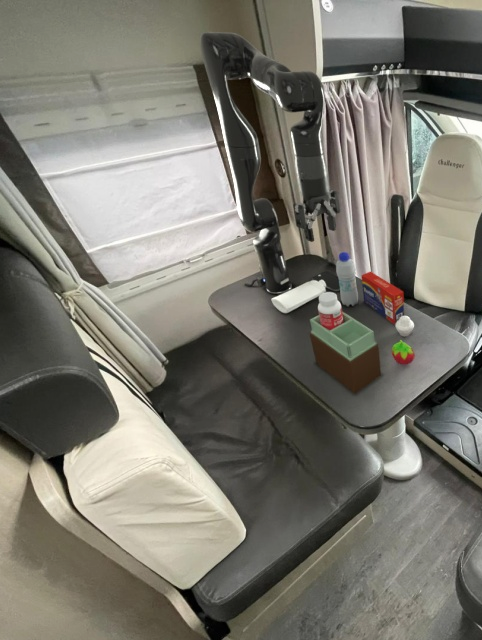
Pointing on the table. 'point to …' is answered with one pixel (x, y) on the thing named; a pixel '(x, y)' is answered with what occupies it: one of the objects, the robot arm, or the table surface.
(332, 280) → the smartphone
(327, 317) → the pill bottle
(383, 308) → the red cardboard box
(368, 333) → the rack
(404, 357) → the strawberry
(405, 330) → the muffin
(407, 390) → the table surface
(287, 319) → the table surface
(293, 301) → the squeeze bottle
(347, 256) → the bottle
